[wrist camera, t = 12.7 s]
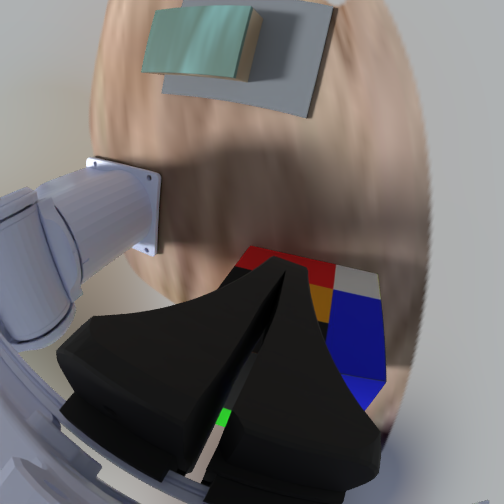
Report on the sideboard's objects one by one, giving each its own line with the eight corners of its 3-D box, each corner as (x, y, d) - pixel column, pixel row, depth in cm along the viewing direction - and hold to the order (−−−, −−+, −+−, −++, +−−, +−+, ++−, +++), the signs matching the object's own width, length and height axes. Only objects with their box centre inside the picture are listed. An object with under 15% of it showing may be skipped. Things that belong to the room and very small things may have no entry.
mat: (163, 93, 18) (161, 93, 17) (185, -1, 13) (184, -2, 13) (306, 118, 16) (305, 118, 15) (333, 8, 11) (332, 6, 11)
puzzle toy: (377, 273, 19) (386, 381, 11) (342, 360, 24) (327, 453, 15) (250, 244, 21) (186, 330, 13) (243, 335, 26) (199, 417, 18)
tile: (247, 82, 15) (162, 74, 17) (263, 18, 13) (175, 18, 14) (233, 77, 13) (141, 72, 14) (251, 6, 11) (155, 10, 12)
